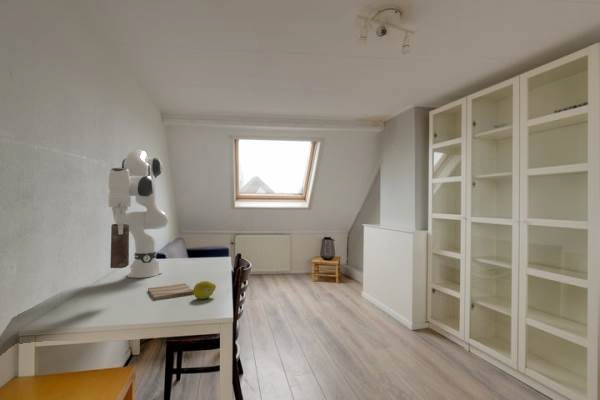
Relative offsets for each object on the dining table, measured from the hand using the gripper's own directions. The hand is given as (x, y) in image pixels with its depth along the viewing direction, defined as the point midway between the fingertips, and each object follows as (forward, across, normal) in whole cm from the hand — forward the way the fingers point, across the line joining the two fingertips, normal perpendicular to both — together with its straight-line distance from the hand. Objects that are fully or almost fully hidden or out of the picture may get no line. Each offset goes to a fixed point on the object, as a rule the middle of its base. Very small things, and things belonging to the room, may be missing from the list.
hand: (119, 233), depth 150 cm
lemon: (+31, -18, -33) cm, 49 cm away
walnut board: (+31, 0, -22) cm, 38 cm away
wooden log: (+16, 0, 0) cm, 16 cm away
